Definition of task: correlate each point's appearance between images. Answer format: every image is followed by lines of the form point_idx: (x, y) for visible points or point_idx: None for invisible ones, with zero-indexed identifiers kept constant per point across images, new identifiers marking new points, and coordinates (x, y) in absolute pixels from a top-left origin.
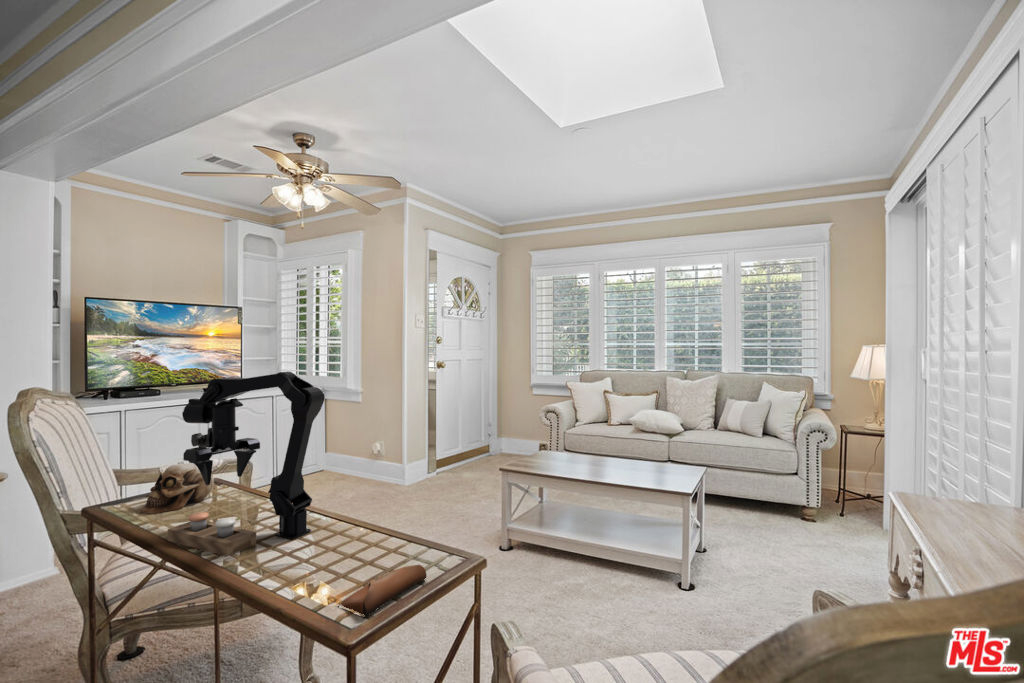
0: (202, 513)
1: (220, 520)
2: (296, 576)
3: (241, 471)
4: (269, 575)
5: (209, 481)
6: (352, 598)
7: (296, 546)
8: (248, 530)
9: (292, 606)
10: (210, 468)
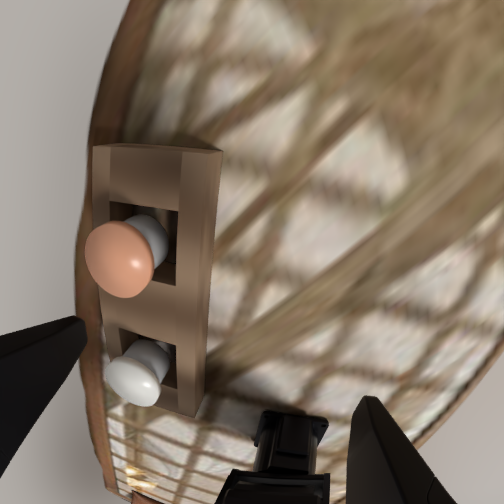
0: (132, 261)
1: (124, 370)
2: (148, 466)
3: (348, 465)
4: (130, 445)
5: (66, 365)
6: (136, 501)
7: (229, 453)
8: (194, 399)
9: (108, 467)
10: (4, 449)
